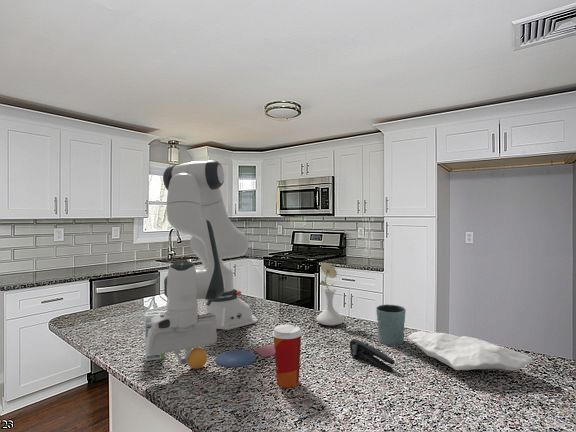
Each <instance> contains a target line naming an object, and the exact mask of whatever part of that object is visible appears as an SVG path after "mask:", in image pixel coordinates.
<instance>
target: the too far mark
mask: <svg viewBox="0 0 576 432" xmlns="http://www.w3.org/2000/svg"><path fill="white" fill-rule="evenodd" d="M253 351H255V352H256V353H257V354H259V355H260V357H261V356H262V358H268V357H272V356H275V350H274V344H270V345H264V346H260V347H256V348H255V347H254V348H253Z"/></svg>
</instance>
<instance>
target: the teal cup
mask: <svg viewBox="0 0 576 432" xmlns="http://www.w3.org/2000/svg"><path fill="white" fill-rule="evenodd" d="M375 309H376V316H377V317H376V318H377V319H376V320H377V334H378V335H377V336H378V341H379V343H380V344H382V345H385V346H391V347H394V346H395V347H396V346H401V345H403V344H404V337H405V333H404V331H405V322H406V308H405V307H404V306H402V305H397V304H379V305H378V306H376V308H375Z"/></svg>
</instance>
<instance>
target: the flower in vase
mask: <svg viewBox="0 0 576 432" xmlns="http://www.w3.org/2000/svg"><path fill="white" fill-rule="evenodd" d="M320 270H321V271H322V273H323V274H324V275H325V277H324V280H321V281H320V283H319V284H320V285H322V286H326V289H324V290H323V292H324V293H325V296H326V307H325V309H324V310H322V312H321V313H319V314H318V315H317V317H316V318H315V319H316V320H315V321H316V322H317V323H319V324H321V325H323V326H339V325H341V324H343V322H344V321H345V319H344V317H343V315H342V314H340V313H339V312H338V311H336V310H335V308H334V306H333V302H334V301H333V299H334V296H335V295H334V294H335V293H336V292H337V291H336V289H333V288H330V287H332V286H333V285H334V283H331V284H329V286H328V284H327V282H326V281H327V277H329V278H331V279H332V278H337V275H338V272H337V270H336V268H335V267H334V266H333V265H332V264H331V263H330V262H328V263H327V262H323V263H321V264H320Z"/></svg>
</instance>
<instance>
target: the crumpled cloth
mask: <svg viewBox="0 0 576 432" xmlns="http://www.w3.org/2000/svg"><path fill="white" fill-rule="evenodd" d="M406 339H407V340H409V341H410V343H413V344H414V345H416V346H417V347H418V348H419V349H420V350H421V351H423V353H424V354H425V355H427V356H428V357H431V358H433V359H436V360H437V361H439V362H441V363H443V364H445V365H447V366H448V367H450V368H452V369H453V370H455V371H471V370H493V369H495V370H496V369H497V370H503V371H512V372H513V371H518V370H520V369H522V368H524V367H525V366H527V365H529V364H531V363H533V358H532V357H530V356H528V355H527V354H524V353H522V352H519V351H516V350H512V349H509V348H506V347H502V346H500V345H497V344H493V343H491V342H488V341H487V340H483V339H480V338H476V337H471V336H466V335H464V336H457V335H454V334H450V333H444V332H429V331H421V330H418V331H416V332H412V333H410V334H408V335H407V336H406Z"/></svg>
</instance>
